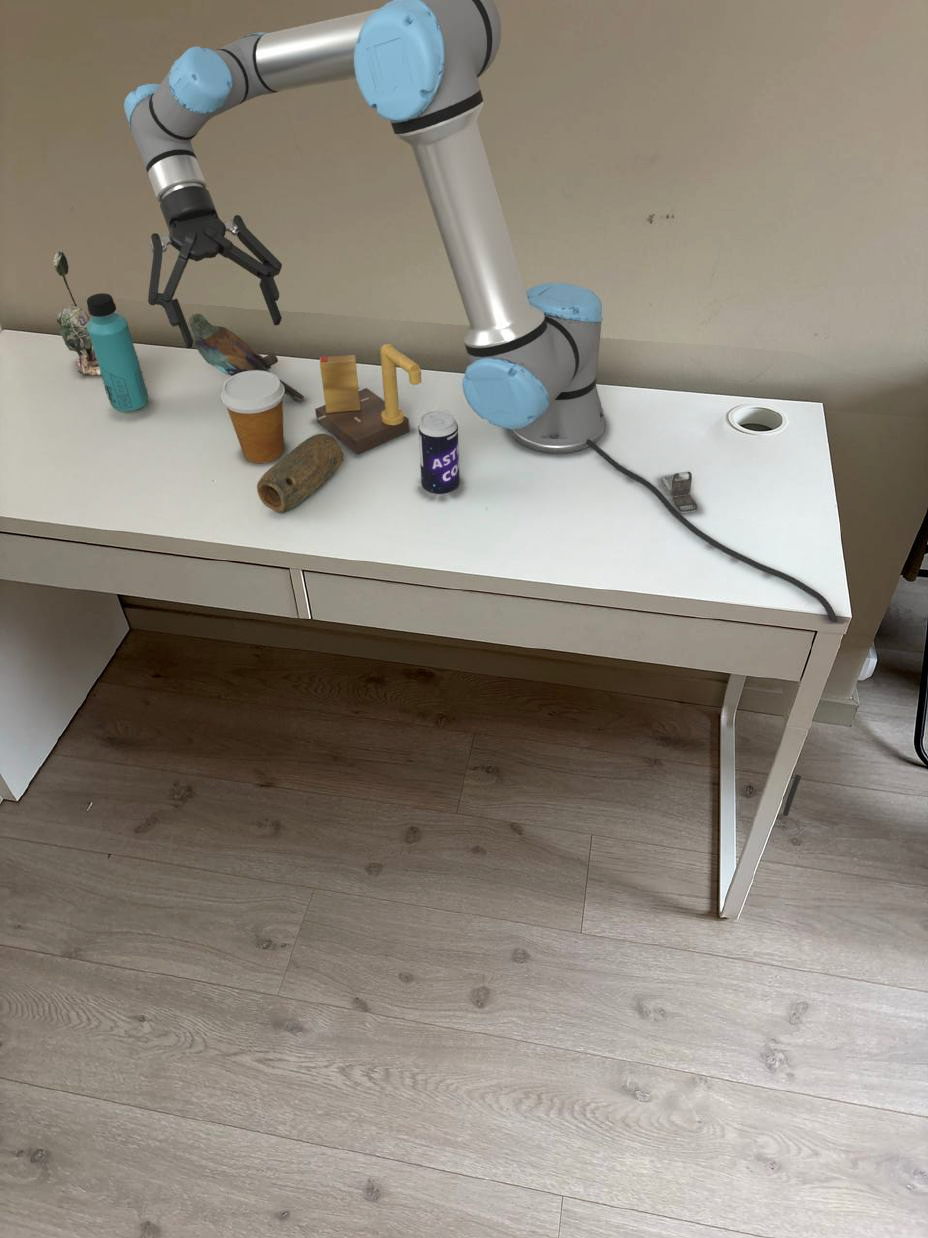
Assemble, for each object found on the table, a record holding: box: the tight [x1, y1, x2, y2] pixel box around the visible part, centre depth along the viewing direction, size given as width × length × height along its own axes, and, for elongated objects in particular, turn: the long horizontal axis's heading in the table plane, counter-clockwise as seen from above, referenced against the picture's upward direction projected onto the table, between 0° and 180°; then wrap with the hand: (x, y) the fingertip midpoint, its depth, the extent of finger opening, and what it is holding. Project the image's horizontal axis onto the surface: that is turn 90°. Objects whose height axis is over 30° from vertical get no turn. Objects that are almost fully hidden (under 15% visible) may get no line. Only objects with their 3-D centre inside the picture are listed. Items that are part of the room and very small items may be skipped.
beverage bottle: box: [86, 292, 150, 412], centre depth 163 cm, size 6×7×20 cm
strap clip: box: [661, 471, 698, 514], centre depth 149 cm, size 8×3×4 cm, turn 11°
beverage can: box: [417, 409, 460, 497], centre depth 149 cm, size 6×6×12 cm
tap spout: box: [379, 343, 422, 425], centre depth 156 cm, size 10×4×13 cm, turn 38°
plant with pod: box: [52, 250, 101, 377], centre depth 174 cm, size 8×11×20 cm
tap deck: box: [315, 387, 410, 455], centre depth 165 cm, size 14×11×3 cm
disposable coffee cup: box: [220, 370, 285, 464], centre depth 157 cm, size 10×10×12 cm
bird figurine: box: [188, 313, 305, 403], centre depth 170 cm, size 13×10×20 cm
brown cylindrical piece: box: [256, 433, 345, 514], centre depth 151 cm, size 15×7×7 cm, turn 155°
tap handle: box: [319, 354, 361, 413], centre depth 161 cm, size 6×2×9 cm, turn 97°
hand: (234, 333), depth 151 cm, fingers open, 13 cm apart
